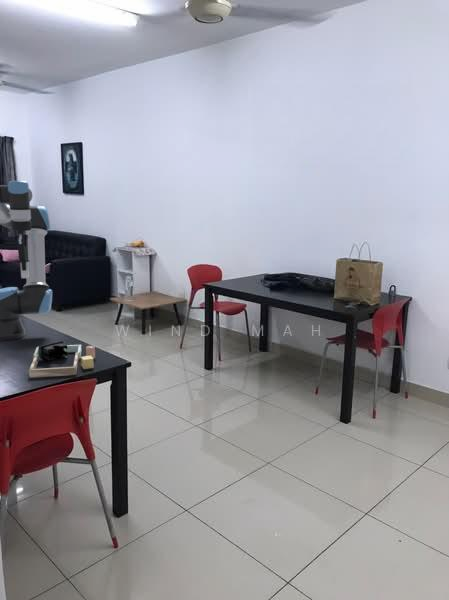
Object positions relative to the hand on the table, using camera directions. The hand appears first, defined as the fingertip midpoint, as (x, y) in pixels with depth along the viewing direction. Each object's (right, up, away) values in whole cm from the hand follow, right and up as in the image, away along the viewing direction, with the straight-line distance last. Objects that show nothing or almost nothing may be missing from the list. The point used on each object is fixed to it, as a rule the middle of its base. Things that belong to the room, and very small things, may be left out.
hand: (25, 277), depth 197 cm
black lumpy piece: (+10, -34, +5) cm, 36 cm away
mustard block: (+27, -37, -3) cm, 46 cm away
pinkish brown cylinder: (+25, -34, +6) cm, 43 cm away
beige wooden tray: (+14, -37, -5) cm, 40 cm away
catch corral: (+11, -34, +7) cm, 36 cm away
